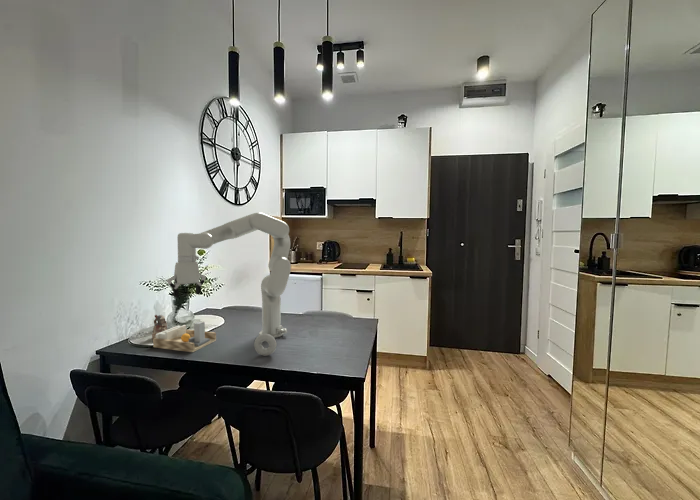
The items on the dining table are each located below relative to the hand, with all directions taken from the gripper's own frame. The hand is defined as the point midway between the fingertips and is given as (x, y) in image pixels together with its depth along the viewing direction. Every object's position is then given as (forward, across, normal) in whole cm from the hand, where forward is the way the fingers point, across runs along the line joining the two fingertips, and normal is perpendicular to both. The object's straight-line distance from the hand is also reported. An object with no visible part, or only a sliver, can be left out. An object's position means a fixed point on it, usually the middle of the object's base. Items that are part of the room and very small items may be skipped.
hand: (187, 295), depth 151 cm
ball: (+21, 0, -4) cm, 22 cm away
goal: (+23, +3, -11) cm, 26 cm away
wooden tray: (+24, 0, -4) cm, 25 cm away
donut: (+24, -19, +36) cm, 47 cm away
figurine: (+25, +5, -22) cm, 33 cm away
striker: (+23, -4, +3) cm, 24 cm away
